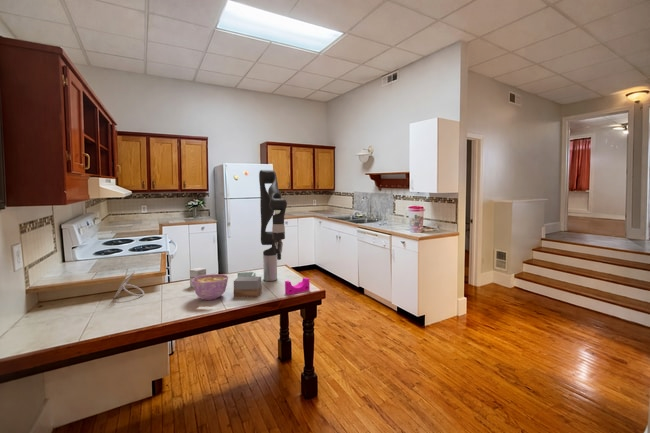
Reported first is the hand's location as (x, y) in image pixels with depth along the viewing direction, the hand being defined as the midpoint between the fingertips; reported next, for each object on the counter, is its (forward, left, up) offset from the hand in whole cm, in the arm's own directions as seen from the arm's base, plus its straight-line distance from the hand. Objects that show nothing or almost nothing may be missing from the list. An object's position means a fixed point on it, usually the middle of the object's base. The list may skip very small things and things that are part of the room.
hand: (279, 259), depth 187 cm
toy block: (-2, +10, -21) cm, 23 cm away
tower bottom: (+6, -18, -21) cm, 28 cm away
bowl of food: (+12, -38, -20) cm, 45 cm away
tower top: (+6, -18, -16) cm, 24 cm away
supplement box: (-8, -55, -20) cm, 59 cm away
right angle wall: (-16, -26, -20) cm, 37 cm away
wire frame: (+12, -90, -23) cm, 94 cm away
